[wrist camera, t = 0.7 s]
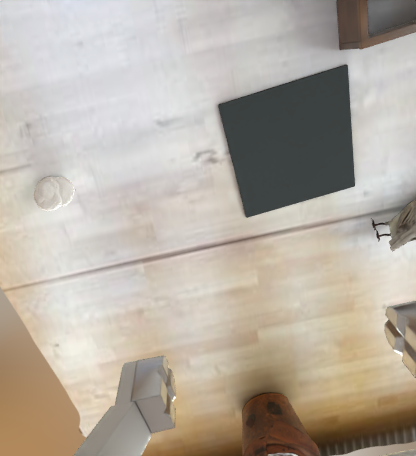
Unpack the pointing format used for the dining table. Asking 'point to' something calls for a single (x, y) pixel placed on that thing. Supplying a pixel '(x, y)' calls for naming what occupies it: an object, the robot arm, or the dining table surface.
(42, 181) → the dumpling
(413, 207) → the decorative bird
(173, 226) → the dining table surface
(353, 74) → the dining table surface
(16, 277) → the dining table surface
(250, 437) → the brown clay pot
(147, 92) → the dining table surface
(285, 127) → the slate mat
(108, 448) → the robot arm
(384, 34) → the wooden box
